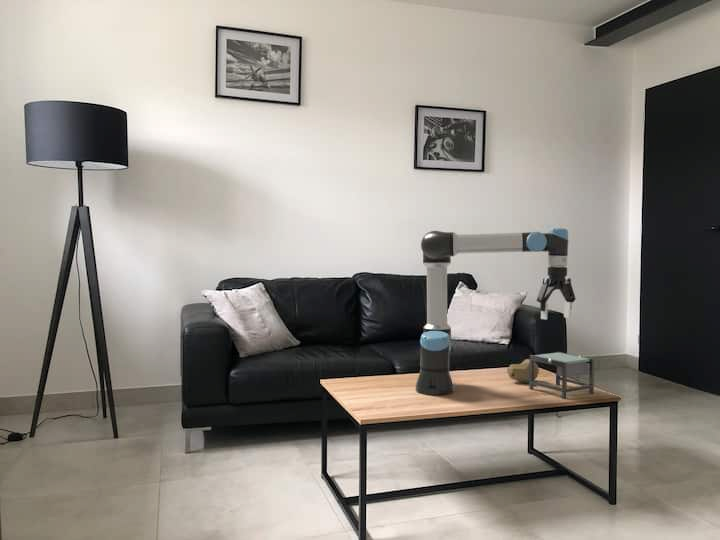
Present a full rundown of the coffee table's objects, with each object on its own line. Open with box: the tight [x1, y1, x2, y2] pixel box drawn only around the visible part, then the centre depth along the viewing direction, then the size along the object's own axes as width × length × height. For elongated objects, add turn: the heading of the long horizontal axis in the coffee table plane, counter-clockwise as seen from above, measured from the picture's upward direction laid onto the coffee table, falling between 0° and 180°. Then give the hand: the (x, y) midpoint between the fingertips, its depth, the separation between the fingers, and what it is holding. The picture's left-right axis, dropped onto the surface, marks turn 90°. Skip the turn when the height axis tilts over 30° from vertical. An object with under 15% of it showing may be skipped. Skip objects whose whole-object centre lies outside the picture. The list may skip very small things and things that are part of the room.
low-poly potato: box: [506, 358, 540, 384], centre depth 256 cm, size 15×11×12 cm
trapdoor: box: [533, 352, 590, 377], centre depth 240 cm, size 14×16×6 cm
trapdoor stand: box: [528, 351, 595, 400], centre depth 240 cm, size 18×18×14 cm
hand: (555, 318), depth 242 cm, fingers open, 13 cm apart
